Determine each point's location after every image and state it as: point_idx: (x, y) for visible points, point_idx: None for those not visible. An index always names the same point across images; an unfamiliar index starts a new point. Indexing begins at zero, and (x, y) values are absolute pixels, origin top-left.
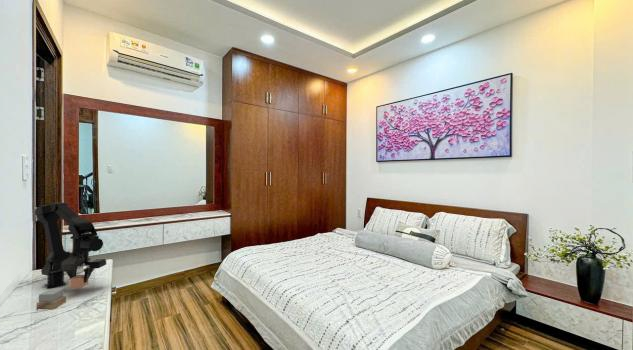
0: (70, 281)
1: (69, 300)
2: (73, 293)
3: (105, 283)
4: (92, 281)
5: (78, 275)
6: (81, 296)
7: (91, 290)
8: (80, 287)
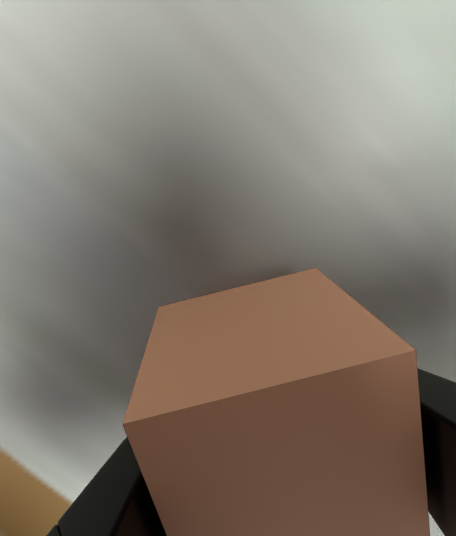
0: (368, 313)
1: (61, 13)
2: (235, 242)
3: None
4: None
5: (380, 532)
6: (30, 167)
7: (94, 349)
8: (173, 306)
